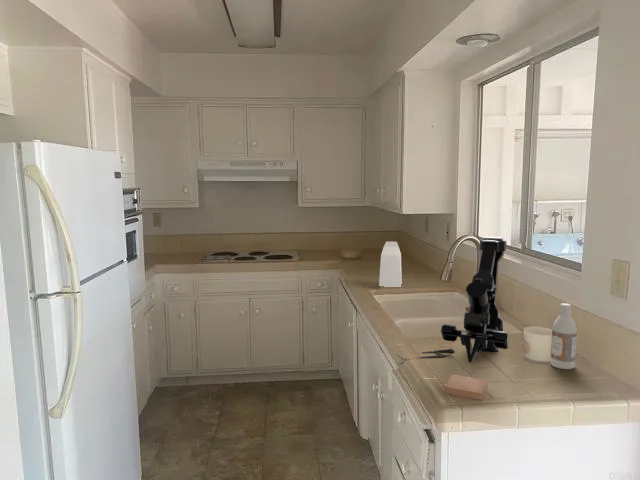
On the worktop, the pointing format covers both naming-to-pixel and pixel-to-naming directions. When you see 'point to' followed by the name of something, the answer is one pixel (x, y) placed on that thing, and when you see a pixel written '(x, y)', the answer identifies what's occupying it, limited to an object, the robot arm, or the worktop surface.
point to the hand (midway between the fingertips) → (469, 362)
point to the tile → (466, 387)
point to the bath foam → (564, 340)
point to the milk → (390, 266)
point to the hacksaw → (435, 355)
